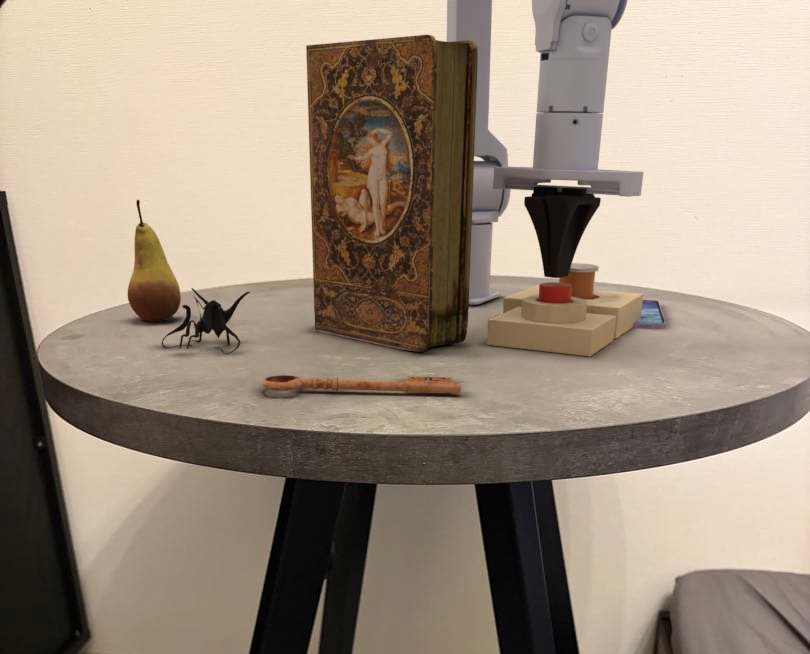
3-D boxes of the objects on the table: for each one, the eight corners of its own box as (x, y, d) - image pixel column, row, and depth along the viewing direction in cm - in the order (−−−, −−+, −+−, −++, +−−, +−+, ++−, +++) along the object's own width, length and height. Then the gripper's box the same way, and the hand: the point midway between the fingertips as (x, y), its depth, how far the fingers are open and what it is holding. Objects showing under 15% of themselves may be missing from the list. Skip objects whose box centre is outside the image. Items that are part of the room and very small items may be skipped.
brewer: (501, 327, 90) (503, 297, 89) (534, 312, 98) (536, 284, 97) (616, 339, 85) (619, 307, 84) (640, 322, 93) (643, 293, 92)
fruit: (196, 319, 92) (185, 197, 87) (152, 327, 88) (138, 200, 83) (161, 313, 95) (149, 195, 90) (117, 320, 91) (102, 197, 86)
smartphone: (594, 321, 91) (595, 298, 105) (593, 330, 92) (595, 306, 105) (666, 323, 90) (658, 300, 103) (665, 332, 90) (658, 307, 104)
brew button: (533, 304, 81) (535, 285, 80) (544, 300, 83) (545, 281, 83) (564, 307, 80) (566, 288, 79) (574, 302, 82) (576, 283, 81)
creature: (226, 370, 76) (266, 334, 82) (215, 312, 73) (256, 278, 79) (149, 363, 78) (193, 328, 84) (135, 306, 75) (181, 273, 81)
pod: (549, 326, 90) (554, 267, 88) (556, 320, 94) (561, 262, 92) (589, 329, 89) (595, 269, 87) (595, 322, 93) (601, 264, 90)
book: (306, 329, 88) (297, 46, 77) (346, 322, 91) (341, 51, 81) (428, 355, 78) (435, 33, 67) (466, 346, 81) (479, 39, 71)
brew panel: (486, 344, 82) (489, 301, 80) (516, 330, 88) (519, 290, 87) (590, 356, 78) (594, 311, 76) (613, 340, 84) (618, 298, 83)
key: (459, 385, 69) (272, 379, 70) (460, 374, 69) (272, 368, 69) (460, 399, 64) (257, 392, 64) (461, 386, 63) (257, 380, 64)
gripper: (668, 114, 73) (647, 280, 79) (529, 115, 82) (519, 264, 88) (625, 111, 68) (606, 289, 74) (481, 113, 77) (474, 271, 83)
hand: (556, 276), depth 81 cm, fingers closed
